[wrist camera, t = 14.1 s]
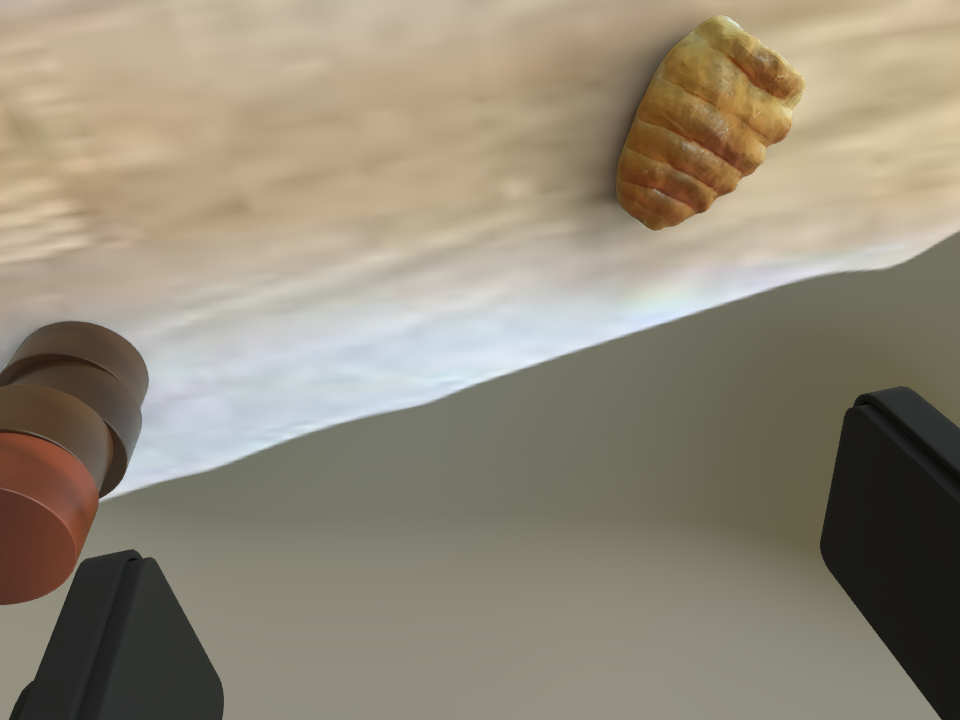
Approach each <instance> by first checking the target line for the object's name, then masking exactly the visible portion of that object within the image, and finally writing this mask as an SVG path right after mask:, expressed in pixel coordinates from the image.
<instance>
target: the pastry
mask: <svg viewBox="0 0 960 720" xmlns="http://www.w3.org/2000/svg"><path fill="white" fill-rule="evenodd" d="M804 89H805V81H804V79H803V77H802V76H801V75H800V74H798V73H797V72H796V70H795V69H794V68H793V67H792V66H791V65H790V64H789V63H788V62H787V61H786V60H785V59H784V58H783V57H782V56H781V55H780V54H779V53H777V52H776V51H774V50H772V49H770V48H768V47H765V46H763V45H762V44H761V43H760V41H759V40H758V39H757V38H755V37H753V36H751V35H749V34H748V33H746V32H745V31H744V30H742V28H741V26H740V25H738V24H737V23H735V22H734V21H733V20H732V19H731V18H729V17H728V16H723V15H716V16H714V17H712V18H710V19H708V20H706V21H705V22H703V23H702V24H700V25H699V26H698V27H696V28H695V29H694V30H693V31H692V32H690V33H689V34H688V35H687V36H686V37H684V38H683V39H682V40H681V41H680V42H678V43H677V44H676V45H675V46H674V47H673V48H672V49H671V50H670V51H669V52H668V53H667V55H666V56H665V58H664V60H663V61H662V62H661V64H660V65H659V67H658V68H657V69H656V70H655V72H654V74H653V76H652V79H651V81H650V84H649V86H648V89H647V90H646V91H645V93H644V95H643V99H642V101H641V103H640V105H639V107H638V109H637V112H636V115H635V118H634V120H633V123H632V126H631V128H630V131H629V132H628V136H627V138H626V141H625V144H624V146H623V149H622V153H621V156H620V158H619V161H618V164H617V173H616V194H617V198H618V202H619V204H620V206H621V207H622V208H623V209H624V210H625V211H627V212H628V213H629V214H630V215H631V216H632V217H634V218H636V219H637V220H639V221H640V222H641V223H643V224H644V225H645V226H646V227H648V228H650V229H652V230H655V231H656V230H660V229H663V228H665V227H670V226H676V225H678V224H680V223H681V222H683V221H685V220H686V219H688V218H689V217H691V216H693V215H695V214H697V213H703V212H705V211H706V210H707V209H709V208H710V206H711V205H712V203H713V202H714V201H715V199H716V198H718V197H720V196H723V195H725V194H727V193H731V192H732V191H734V190H735V189H736V186H737V184H738V182H739V181H740V180H741V179H742V178H743V177H745V176H748V175H750V174H752V173H753V172H754V171H755V170H756V168H757V167H758V166H759V165H761V164H762V163H763V161H764V159H765V157H766V148H767V147H768V146H769V145H772V144H775V143H778V142H780V141H782V140H783V139H784V138H785V137H786V135H787V133H788V132H789V130H790V129H791V126H792V110H793V108H794V107H795V106H796V105H797V104H798V102H799V101H800V99H801V97H802V93H803V91H804Z"/></svg>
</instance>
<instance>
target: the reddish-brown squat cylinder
mask: <svg viewBox="0 0 960 720" xmlns="http://www.w3.org/2000/svg"><path fill="white" fill-rule="evenodd" d="M98 501H99V496H98V490H97V487H96V484H95V481H94V479H93V478H92V476H91V474H90V473H89V471H88V470H87V469H86V467H85V466H84V465H83V464H82V463H81V462H80V461H79V460H78V459H76V458H75V457H74V456H73V455H72V454H70V453H69V452H67V451H65V450H64V449H62V448H60V447H58V446H56V445H55V444H53V443H50V442H48V441H45V440H42V439H39V438H36V437H32V436H28V435H23V434H18V433H8V432H0V605H9V604H17V603H22V602H27V601H31V600H34V599H37V598H40V597H42V596H44V595H47V594H48V593H50V592H52V591H53V590H55V589H57V588H58V587H59V586H60V585H62V584H63V583H64V582H65V581H66V580H67V579H68V577H69V576H70V574H71V573H72V572H73V569H74V567H75V565H76V563H77V560H78V557H79V555H80V553H81V550H82V548H83V545H84V543H85V540H86V537H87V535H88V532H89V530H90V527H91V525H92V522H93V520H94V517H95V515H96V512H97V508H98Z"/></svg>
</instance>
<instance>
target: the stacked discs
mask: <svg viewBox="0 0 960 720" xmlns="http://www.w3.org/2000/svg"><path fill="white" fill-rule="evenodd" d="M148 381H149V379H148V371H147V368H146V365H145V363H144V360H143V359H142V357H141V355H140V354H139V352H138V351H137V350H136V349H135V348H134V347H133V346H132V345H131V344H130V343H129V342H128V341H127V340H126V339H124V338H123V337H122V336H120V335H118V334H117V333H115V332H113V331H111V330H109V329H107V328H104V327H101V326H99V325H95V324H91V323H85V322H73V321H70V322H60V323H54V324H51V325H47V326H45V327H42V328H40V329H38V330H37V331H35V332H33V333H32V334H31V335H30V336H29V337H27V338H26V340H25V341H24V342H23V343H22V345H21V346H20V347H19V349H18V350H17V351H16V353H15V354H14V356H13V357H12V358H11V360H10V361H9V363H8V364H7V365H6V367H5V368H4V369H3V371H2V372H1V374H0V432H8V433H18V434H23V435H28V436H32V437H36V438H39V439H42V440H45V441H48V442H50V443H53V444H55V445H56V446H58V447H60V448H62V449H64V450H65V451H67V452H69V453H70V454H72V455H73V456H74V457H75V458H76V459H78V460H79V461H80V462H81V463H82V464H83V465H84V466H85V467H86V469H87V470H88V471H89V473H90V474H91V476H92V478H93V479H94V481H95V484H96V487H97V490H98V496H99V499H100V498H102V497H104V496H105V495H107V494H108V493H110V492H111V491H112V490H114V489H115V488H116V486H117V485H118V484H119V483H120V482H121V480H122V479H123V477H124V475H125V472H126V470H127V467H128V464H129V462H130V459H131V456H132V454H133V451H134V448H135V446H136V443H137V440H138V438H139V435H140V432H141V428H142V415H141V410H140V408H141V405H142V403H143V400H144V398H145V395H146V393H147V389H148Z"/></svg>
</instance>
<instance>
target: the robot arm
mask: <svg viewBox="0 0 960 720" xmlns="http://www.w3.org/2000/svg"><path fill="white" fill-rule="evenodd" d="M820 548H821V554H822V557H823V560H824V562H825V564H826V566H827V568H828V569H829V570H830V572H831V573H832V574H833V576H834V577H835V579H836V580H837V581H838V583H839V584H840V585H841V587H842V588H843V589H844V590H845V592H846V593H847V594H848V596H849V597H850V598H851V600H852V601H853V602H854V604H855V605H856V606H857V608H858V609H859V610H860V612H861V613H862V614H863V616H864V617H865V618H866V620H867V621H868V622H869V624H870V625H871V626H872V628H873V629H874V630H875V631H876V633H877V634H878V636H879V637H880V638H881V640H882V641H883V642H884V643H885V645H886V646H887V647H888V649H889V650H890V652H891V653H892V654H893V655H894V657H895V658H896V659H897V661H898V662H899V663H900V665H901V666H902V667H903V669H904V670H905V671H906V673H907V674H908V675H909V677H910V678H911V679H912V681H913V682H914V683H915V685H916V686H917V687H918V689H919V690H920V691H921V693H922V694H923V695H924V697H925V698H926V699H927V701H928V702H929V703H930V705H931V706H932V707H933V709H934V710H935V711H936V713H937V714H938V715H939V717H940V718H941V719H942V720H960V428H958V427H957V426H956V425H955V424H954V423H952V422H951V421H950V420H949V419H948V418H946V417H945V416H944V415H943V414H942V413H940V412H939V411H938V410H937V409H935V408H934V407H933V406H932V405H931V404H929V403H928V402H927V401H926V400H925V399H923V398H922V397H921V396H920V395H918V394H917V393H916V392H915V391H913V390H912V389H909V388H908V387H903V386H900V387H895V388H890V389H886V390H881V391H876V392H871V393H867V394H863V395H860V396H859V397H858V398H857V399H856V400H855V403H854V406H853V407H852V408H849V409H848V410H847V411H846V414H845V416H844V421H843V426H842V431H841V436H840V442H839V447H838V452H837V457H836V462H835V468H834V474H833V478H832V483H831V489H830V494H829V499H828V504H827V510H826V514H825V520H824V525H823V531H822V535H821V541H820ZM223 708H224V696H223V688H222V684H221V681H220V679H219V677H218V675H217V673H216V671H215V669H214V667H213V666H212V664H211V662H210V660H209V658H208V656H207V655H206V653H205V651H204V649H203V647H202V645H201V643H200V641H199V639H198V638H197V636H196V634H195V632H194V630H193V628H192V627H191V625H190V623H189V621H188V619H187V617H186V615H185V614H184V612H183V610H182V608H181V606H180V604H179V602H178V600H177V599H176V597H175V595H174V593H173V591H172V589H171V587H170V586H169V584H168V582H167V580H166V578H165V576H164V574H163V573H162V571H161V569H160V567H159V565H158V563H157V562H156V561H155V559H153V558H152V557H149V558H144V559H143V558H142V557H141V555H140V554H139V553H138V552H137V551H135V550H134V549H132V550H126V551H121V552H116V553H112V554H107V555H102V556H98V557H93V558H88V559H85V560H84V561H83V562H81V564H80V566H79V567H78V569H77V572H76V574H75V577H74V579H73V582H72V584H71V587H70V590H69V592H68V595H67V597H66V600H65V602H64V605H63V608H62V610H61V613H60V615H59V618H58V620H57V623H56V625H55V628H54V630H53V633H52V636H51V638H50V641H49V643H48V646H47V648H46V651H45V654H44V656H43V659H42V661H41V664H40V666H39V669H38V671H37V674H36V676H35V679H34V681H32V682H31V683H30V684H28V685H27V686H26V687H25V688H24V690H22V692H21V694H20V696H19V698H18V700H17V702H16V704H15V706H14V708H13V711H12V713H11V716H10V718H9V720H222V716H223Z"/></svg>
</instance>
